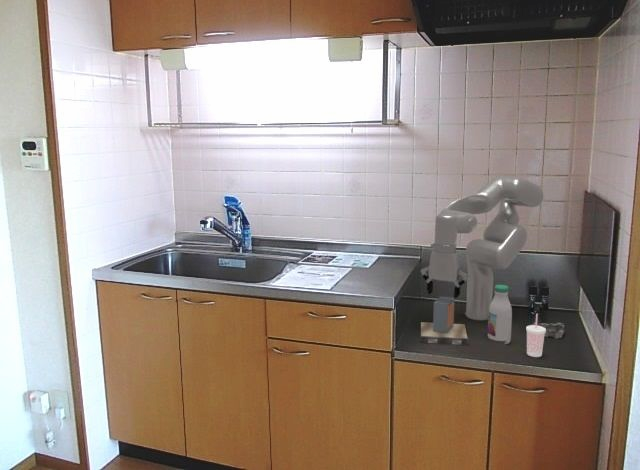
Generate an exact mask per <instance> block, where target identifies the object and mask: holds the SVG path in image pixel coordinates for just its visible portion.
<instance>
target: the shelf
mask: <svg viewBox="0 0 640 470" xmlns="http://www.w3.org/2000/svg"><path fill="white" fill-rule="evenodd" d="M420 343H421V344H423V343H424V344H437V345H438V344H440V345H456V346H460V345H461V346H470V338H469V337H468V335H467V330H466V325H465V323H464V324H462V323H453V327H452V329H451V330H450V331H449V332H448V333H447V334H445V333H439V332H434V331H433V322H424V321H423V322H422V321H421V322H420Z"/></svg>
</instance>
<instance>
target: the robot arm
mask: <svg viewBox="0 0 640 470" xmlns="http://www.w3.org/2000/svg"><path fill="white" fill-rule="evenodd" d="M543 200H544V191H543V189H542V188H541V186H539V185H537V184H536V183H533V182H531V181H529V180H527V179H525V178H522V177H518V176H517V177H516V176H515V177H514V176H506V175H505V176H504V175H503V176H502V175H500V176H496V177H494V178H492V179H491V180H490V181H488V183H486V184H485V185H484V186H483V187H482V188H480V189H479V190H478V191H477V192H475V193H472V194H469V195H467V196H464V197H461V198H458V199H456V200H454V201H452V202H451V203H449V204H448V205H447V206H446V207H444V208H443V209H442V210H441V211H440V213H438V214H437V215H436V216H435V225H434V226H435V228H434V243H431V244H430V248H433V251H431V254H430V258H429V259H430V260H429V265H428V266H427V267H424V268H422V269H420V273H421V275H422V278H423V280H425V282H426V283H427V284H426V290H427V294H428V295H430V294H432V293H433V292H434V282H433V280H435V281H441V282H450V283H453V284H454V285H455V287H454V292H453V298H454V299H457V298H458V297H459V296H460V295H461V286H462V285H464V284H465V283H467V284H466V304H465V305H466V307H465V308H466V310H465V312H464V313H463V314H464V315H465V317H466V318H468V319H471V320H474V321H488V319H489V308H490V304H491V302H492V300H493V292H494V291H493V289H494V272H493V270H492V269H496V270H497V269H498V270H505V269H506V268H508V267H509V266H510V265H511V264H512V262H514V260H515V259H516V258H517V256H518V254H519V253H520V252H521V251H522V250H523V248H524V246H525V245H526V243H527V237H528V234H527V230H526V228H525V227H524V226H523V225H520V224H519V221H520V216H519V213H518V211H517V209H516V208H517V207H527V208H537V207H539V206H540V205H541V204H542V202H543ZM497 205H499V210H498V213H497V214H496V215H495V217H494V218H493V219H492V220H491V221H490V223H489V224H488V225H487V227H486V228H485V229H484V232H483V235H482V236H483V239H479V238H478V239H472V240H471V241H469V242H468V244H467V245H466V247H465V258H466V265H467V273H466V272H464V271H463V270H461V269H460V260H459V258H460V257H459V253H458V252H457V240H458V239H457V238H458V234H470V233H472V232H473V231H475V229H476V228H477V225H478V220H477V217H476V216H475V215H481V214H484V213H485V214H487V213H489V212H491V211H492V210H493V209H494V208H496V206H497ZM427 272H428V274H427ZM460 276H461V277H462V280H460V279H459V277H460Z"/></svg>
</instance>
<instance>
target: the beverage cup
mask: <svg viewBox="0 0 640 470" xmlns="http://www.w3.org/2000/svg"><path fill="white" fill-rule="evenodd" d="M538 316H539V313H536V314H535V322H536V324H535V325H532V324H529V325H527V326H526V328H525V329H526V330H525V331H526V355H528V356H530V357H533V358H539V357H542V356H543V347H544V342H545V336H544V335H545V332H546V329H545V328H544V327H542V326H537V323H538Z"/></svg>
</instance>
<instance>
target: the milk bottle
mask: <svg viewBox="0 0 640 470" xmlns="http://www.w3.org/2000/svg"><path fill="white" fill-rule="evenodd" d="M509 290H510V287H509V285H505V284H496V285H495V286H494V291H493V292H494V296H493V297H492V302H491V304H490V308H489V319H488V320H487V338H488V339H490V340H492V341H497V342H504V345H508V344H510V342H511V340H512V339H511V337H512V323H513V309H512V304H511V302H510V299H509V296H508V295H509Z"/></svg>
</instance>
